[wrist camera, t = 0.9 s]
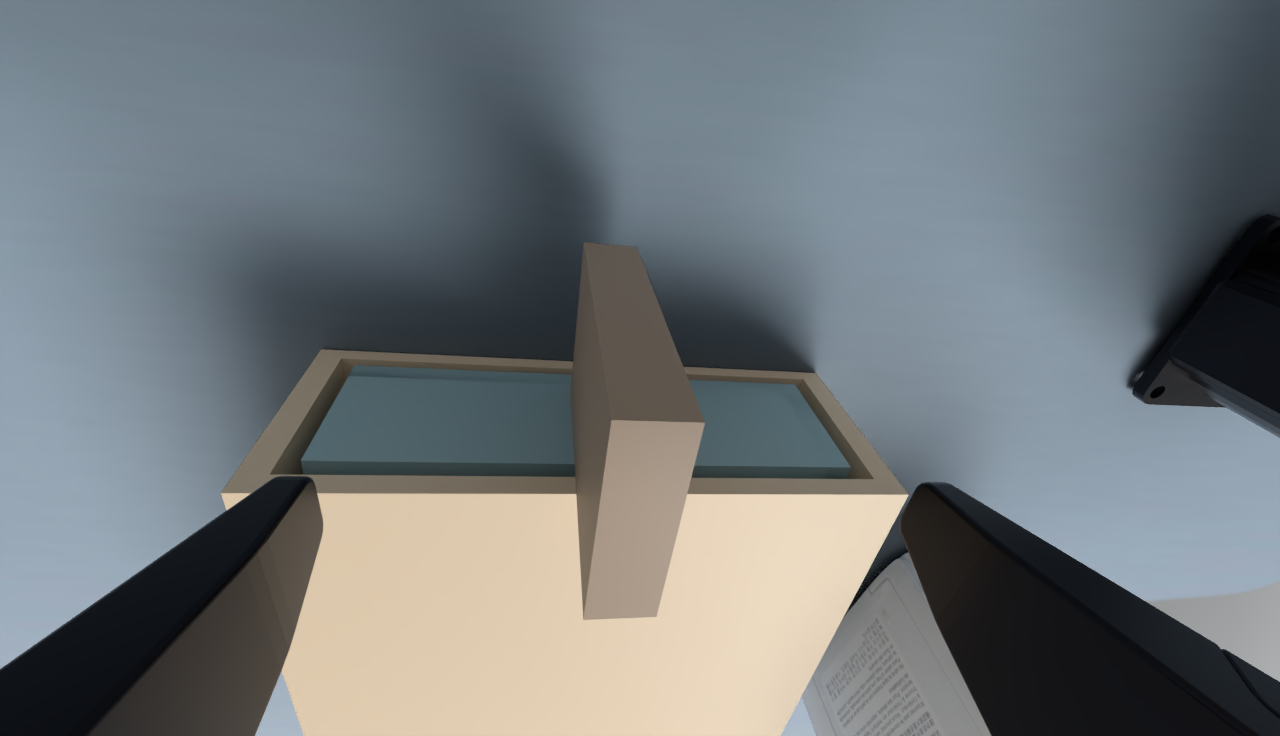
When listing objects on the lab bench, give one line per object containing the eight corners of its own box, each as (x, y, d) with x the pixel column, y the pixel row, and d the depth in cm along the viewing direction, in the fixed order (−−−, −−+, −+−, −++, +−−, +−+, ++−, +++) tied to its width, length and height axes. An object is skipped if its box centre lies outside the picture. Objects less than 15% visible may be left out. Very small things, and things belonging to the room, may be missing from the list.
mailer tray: (838, 254, 14) (1060, 432, 8) (701, 658, 23) (755, 885, 17) (331, 207, 12) (97, 405, 6) (401, 676, 21) (339, 944, 15)
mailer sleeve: (816, 372, 17) (908, 495, 13) (716, 650, 24) (753, 786, 20) (320, 349, 14) (220, 492, 10) (379, 668, 22) (336, 830, 17)
